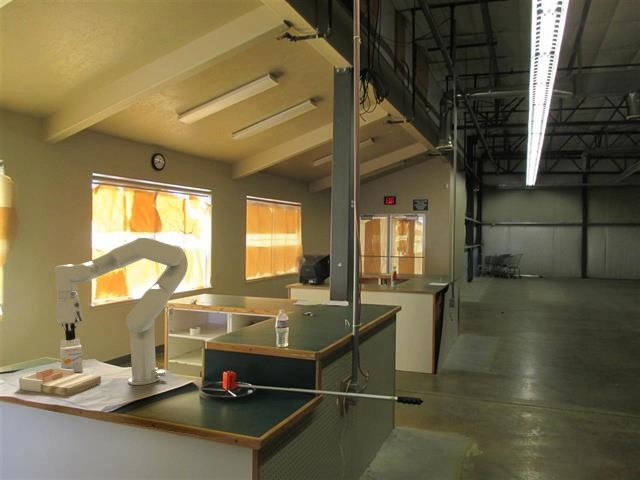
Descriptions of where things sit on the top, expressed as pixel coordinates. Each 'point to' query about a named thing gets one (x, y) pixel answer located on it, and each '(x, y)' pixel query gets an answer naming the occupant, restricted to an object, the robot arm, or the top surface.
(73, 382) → the board
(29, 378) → the tray
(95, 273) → the robot arm
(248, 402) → the top surface
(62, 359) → the ink box
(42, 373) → the tile
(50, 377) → the tile
